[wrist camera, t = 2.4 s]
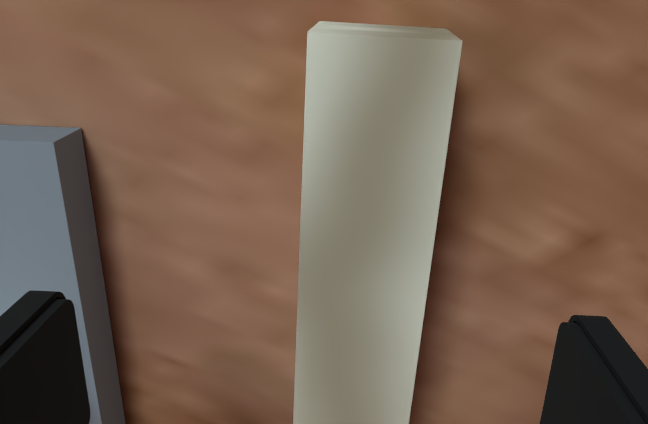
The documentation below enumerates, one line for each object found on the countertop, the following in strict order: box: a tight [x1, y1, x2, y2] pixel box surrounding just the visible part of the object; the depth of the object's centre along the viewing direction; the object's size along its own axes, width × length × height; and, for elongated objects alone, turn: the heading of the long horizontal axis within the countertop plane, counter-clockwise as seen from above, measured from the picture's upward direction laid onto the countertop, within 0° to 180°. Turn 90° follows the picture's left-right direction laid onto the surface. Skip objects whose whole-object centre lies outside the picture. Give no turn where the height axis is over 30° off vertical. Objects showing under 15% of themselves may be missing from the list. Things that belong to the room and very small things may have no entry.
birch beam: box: [293, 21, 462, 424], centre depth 18 cm, size 3×22×3 cm, turn 177°
